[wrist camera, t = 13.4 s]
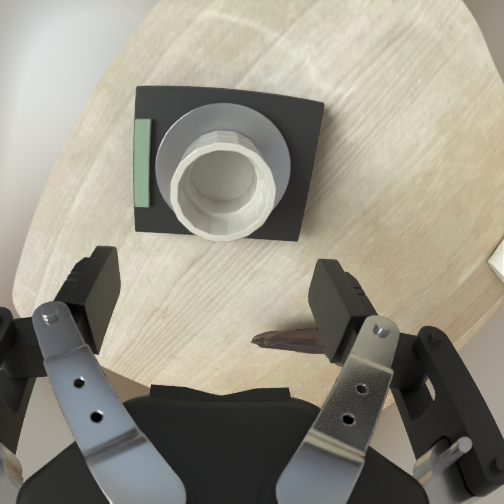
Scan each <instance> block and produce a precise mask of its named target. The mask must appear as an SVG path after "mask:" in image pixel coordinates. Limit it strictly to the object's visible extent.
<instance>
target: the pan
mask: <svg viewBox="0 0 504 504" xmlns="http://www.w3.org/2000/svg"><path fill="white" fill-rule="evenodd" d="M219 130H220V131H233V132H235V133H236V132H237V133H239V134H241V135H243V136H245V137H247V138H249V139H250V140H252V141H253V143H254V144H255V145H256V146H257V147H258V149H259V150H260V151H261V153H262V154H263V156H264V158H265V160H266V161H267V163H268V165H269V167H270V169H271V171H272V174H273V178H274V182H275V185H276V195H275V202H274V208H275V207H276V206H277V204H278V203H279V201H280V200H281V198H282V196H283V195H284V193H285V190H286V188H287V185H288V182H289V177H290V169H291V167H290V156H289V151H288V148H287V145H286V142H285V140H284V138H283V136H282V134H281V133H280V131H279V130H278V129H277V127H276V126H275V125H274V124H273V123H272V122H271V121H270V120H269V119H268V118H266V117H265V116H264V115H262V114H261V113H259V112H258V111H256V110H254V109H252V108H249V107H247V106H244V105H240V104H235V103H212V104H208V105H204V106H201V107H198V108H196V109H194V110H192V111H190V112H188V113H186V114H185V115H184V116H182V117H181V118H180V119H179V120H177V121H176V122H175V123H174V124H173V125H172V126H171V128H170V129H169V130H168V132H167V133H166V134H165V136H164V138H163V140H162V142H161V144H160V147H159V149H158V153H157V157H156V178H157V184H158V187H159V190H160V192H161V194H162V196H163V198H164V200H165V201H166V203H167V204H168V206H169V207H170V208H171V209H172V210H173V211H174V209H173V207H172V204H171V201H170V193H171V180H172V178H173V176H174V174H175V172H176V170H177V168H178V165H179V163H180V161H181V159H182V157H183V156H184V154H185V152H186V150H187V148H188V146H190V145H191V144H192V143H193V142H194V141H195V140H197V139H198V138H199V137H200V136H202V135H205V134H208V133H211V132H214V131H219ZM274 208H273V209H274ZM174 212H175V211H174Z"/></svg>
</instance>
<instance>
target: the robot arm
mask: <svg viewBox="0 0 504 504" xmlns="http://www.w3.org/2000/svg"><path fill="white" fill-rule="evenodd" d="M120 287H121V280H120V272H119V264H118V255H117V249H116V247H112V246H97V247H96V248H95V250H94V251H93V253H92V255H91V256H90V258H88V257H85V258H83V259H82V260H81V261H79V262H78V263H76V265H75V266H74V268H73V269H72V271H71V274H69V276H68V277H67V280H66V281H65V282H64V284H63V285H62V287H61V289H60V291H59V292H58V294H57V296H56V297H55V299H54V301H51V302H47V303H44V304H42V305H40V306H39V307H38V308H37V309H36V310H35V311H34V313H33V315H32V317H27V318H19V319H14V318H13V316H12V314H11V311H10V310H9V309H7V308H4V307H0V504H472V503H474V502H476V501H478V500H480V499H481V498H483V497H485V496H486V495H488V494H490V493H491V492H493V491H494V490H496V489H497V488H499V487H500V486H502V485H504V439H503V437H502V435H501V433H500V430H499V428H498V426H497V424H496V422H495V420H494V418H493V416H492V414H491V412H490V410H489V408H488V406H487V404H486V402H485V400H484V398H483V397H482V395H481V393H480V391H479V389H478V387H477V386H476V384H475V382H474V380H473V378H472V377H471V375H470V373H469V371H468V370H467V368H466V366H465V365H464V363H463V361H462V359H461V358H460V356H459V354H458V353H457V351H456V349H455V348H454V346H453V344H452V343H451V341H450V340H449V338H448V337H447V335H446V334H445V333H444V332H443V331H441V330H440V329H438V328H436V327H432V326H424V327H422V328H421V329H420V331H419V332H418V334H417V336H415V335H410V334H405V333H400V331H399V328H398V327H397V325H396V324H395V323H394V322H393V321H391V320H390V319H388V318H386V317H383V316H378V314H377V312H376V311H375V309H374V307H373V306H372V304H371V302H370V301H369V299H368V297H367V296H365V292H364V291H363V289H361V286H360V284H359V282H358V281H357V279H356V278H354V277H353V276H352V275H351V274H350V273H348V272H344V270H343V269H342V267H341V265H340V264H339V262H338V261H337V260H334V259H318V261H317V263H316V266H315V270H314V273H313V277H312V281H311V284H310V288H309V294H308V301H309V305H310V308H311V311H312V313H313V316H314V319H315V321H316V324H317V327H318V330H319V332H320V335H321V338H322V340H323V343H324V346H325V349H326V351H327V354H328V357H329V360H330V363H342V365H343V367H342V369H341V371H340V373H339V375H338V377H337V379H336V381H335V383H334V385H333V387H332V389H331V391H330V393H329V395H328V397H327V398H326V400H325V402H324V404H323V406H322V408H319V407H317V406H316V405H314V404H311V403H309V402H307V401H304V400H301V399H297V398H293V397H291V396H290V392H289V387H288V388H256V389H251V390H247V391H242V392H238V393H233V394H228V395H222V396H221V395H215V394H210V393H206V392H202V391H198V390H194V389H191V388H187V387H178V386H164V385H152V384H151V388H150V394H147V395H142V396H138V397H135V398H132V399H129V400H127V401H125V402H123V403H122V402H121V400H120V399H119V397H118V396H117V394H116V392H115V391H114V389H113V387H112V386H111V384H110V383H109V381H108V379H107V377H106V375H105V374H104V372H103V370H102V369H101V367H100V365H99V363H98V361H97V359H96V358H95V356H94V354H97V355H99V352H100V349H101V346H102V343H103V339H104V336H105V333H106V331H107V328H108V325H109V322H110V319H111V316H112V313H113V311H114V308H115V305H116V302H117V300H118V297H119V294H120ZM45 376H48V378H49V381H50V384H51V386H52V389H53V391H54V394H55V396H56V399H57V401H58V404H59V406H60V408H61V411H62V413H63V415H64V418H65V420H66V422H67V424H68V426H69V428H70V430H71V432H72V435H73V437H74V439H75V441H74V442H73V443H72V444H71V445H69V446H68V447H67V448H66V449H64V450H63V451H62V452H61V453H59V454H58V455H57V456H56V457H54V458H53V459H52V460H51V461H49V462H48V463H47V464H46V465H44V466H43V467H42V468H41V469H39V470H38V471H37V472H36V473H34V474H33V475H32V476H31V477H29V478H28V479H27V480H26V481H25V482H24V483H23V477H22V467H21V464H20V461H19V460H18V458H17V457H16V456H15V455H16V450H17V445H18V441H19V437H20V432H21V429H22V425H23V421H24V417H25V414H26V410H27V406H28V403H29V400H30V396H31V393H32V390H33V387H34V384H35V381H36V377H45ZM428 378H429V379H430V381H431V383H432V385H433V387H434V390H435V400H434V401H433V399H432V397H431V395H430V392H429V390H428V388H427V386H426V384H425V382H426V381H427V379H428ZM389 387H390V389H391V391H392V394H393V396H394V399H395V402H396V404H397V407H398V410H399V412H400V415H401V418H402V420H403V423H404V426H405V429H406V432H407V434H408V437H409V440H410V443H411V446H412V449H413V452H414V455H415V458H416V463H415V465H414V469H413V473H414V475H413V476H411V475H409V474H408V473H407V472H405V471H404V470H402V469H401V468H399V467H398V466H397V465H395V464H394V463H392V462H391V461H389V460H388V459H387V458H385V457H384V456H383V455H381V454H380V453H378V452H377V451H376V450H374V449H373V448H372V447H370V446H369V443H370V441H371V438H372V436H373V433H374V430H375V428H376V425H377V422H378V420H379V417H380V414H381V411H382V408H383V405H384V402H385V399H386V396H387V393H388V390H389Z"/></svg>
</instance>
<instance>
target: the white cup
mask: <svg viewBox="0 0 504 504" xmlns="http://www.w3.org/2000/svg"><path fill="white" fill-rule="evenodd" d="M275 195H276V185H275V182H274V178H273V174H272V171H271V169H270V167H269V165H268V163H267V161H266V160H265V158H264V156H263V154H262V153H261V151H260V150H259V149H258V147H257V146H256V145H255V144H254V143H253V141H252V140H250V139H249V138H247V137H245V136H243V135H241V134H239V133H237V132H236V133H235V132H233V131H220V130H219V131H214V132H211V133H208V134H205V135H202V136H200V137H199V138H198V139H197V140H195V141H194V142H193V143H192V144H191V145H190V146H188V148H187V150H186V152H185V154H184V156H183V157H182V159H181V161H180V163H179V165H178V168H177V170H176V172H175V174H174V176H173V178H172V180H171V193H170V201H171V204H172V207H173V209H174V211H175V214H176V216H177V218H178V220H179V221H180V222H181V223H182V224H183V225H184V226H185V227H186V228H187V229H188V230H189V231H190V232H192V233H193V234H196V235H198V236H200V237H202V238H205V239H207V240H210V241H227V242H228V241H233V240H236V239H240V238H243V237H246V236H248V235H250V234H251V233H252V232H254V231H255V230H257V229H258V228H259V227H261V226H262V225H263V224H264V222H265V221H266V219H267V218H268V216H269V214H270V213H271V211H272V210H273V208H274V202H275Z"/></svg>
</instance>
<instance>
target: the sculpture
mask: <svg viewBox="0 0 504 504" xmlns="http://www.w3.org/2000/svg"><path fill="white" fill-rule="evenodd" d="M251 343H254V344H257V345H259V347H262V348H271V349H280V350H289V351H296V352H302V353H308V354H325V355H326V356H327V357H328V354H327V351H326V349H325V346H324V343H323V340H322V338H321V335H320V332H319V330H316V329H297V330H287V331H269V332H265V333H262V334H259V335H256V336H255V337H254V338H253V339H252V341H251ZM328 358H329V357H328ZM335 364H336V365H338V366H341V367H343V365H342V363H335Z"/></svg>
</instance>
